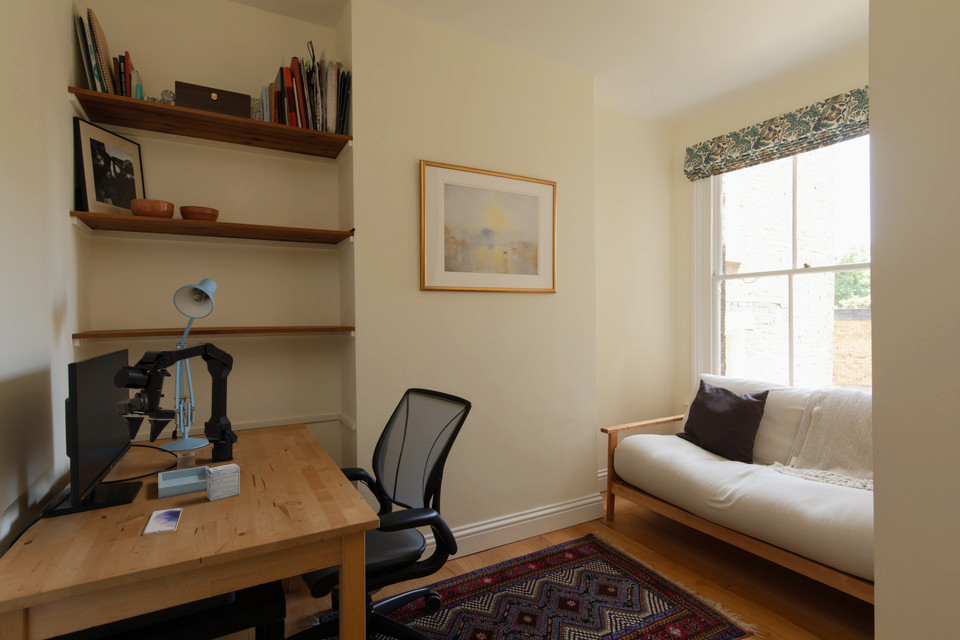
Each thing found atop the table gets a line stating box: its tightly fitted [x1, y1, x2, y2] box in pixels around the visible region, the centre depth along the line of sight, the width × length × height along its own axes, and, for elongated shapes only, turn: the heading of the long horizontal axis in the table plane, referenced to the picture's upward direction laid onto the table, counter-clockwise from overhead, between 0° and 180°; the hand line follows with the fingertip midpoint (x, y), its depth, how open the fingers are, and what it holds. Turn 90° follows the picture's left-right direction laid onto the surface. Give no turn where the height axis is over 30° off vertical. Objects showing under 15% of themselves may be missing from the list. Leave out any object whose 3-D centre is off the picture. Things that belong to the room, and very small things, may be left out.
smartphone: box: [142, 507, 183, 537], centre depth 125 cm, size 7×1×15 cm
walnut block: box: [176, 451, 196, 470], centre depth 163 cm, size 5×5×6 cm
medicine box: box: [206, 463, 241, 502], centre depth 142 cm, size 8×4×9 cm, turn 134°
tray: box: [157, 465, 210, 499], centre depth 150 cm, size 14×16×3 cm
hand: (141, 441), depth 147 cm, fingers open, 9 cm apart
